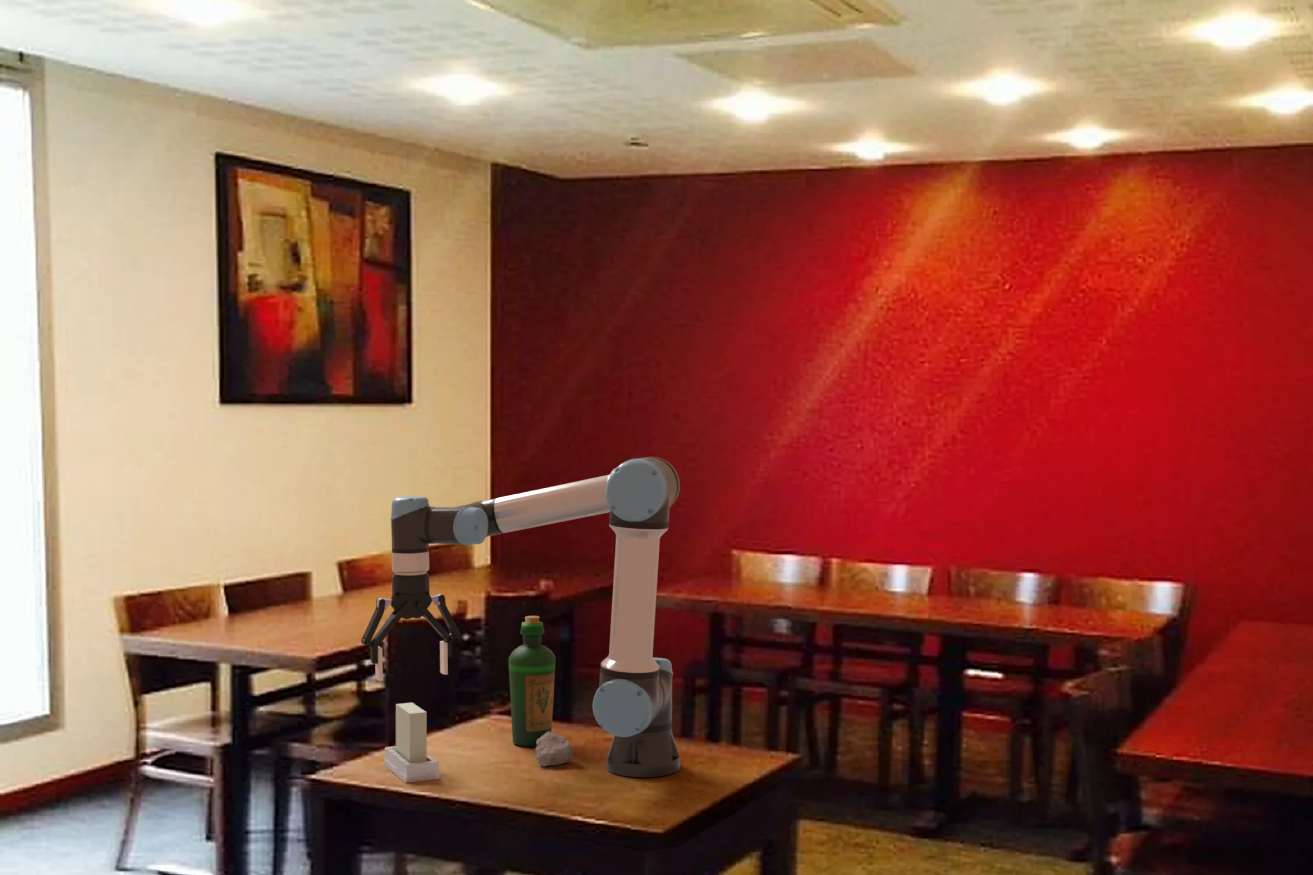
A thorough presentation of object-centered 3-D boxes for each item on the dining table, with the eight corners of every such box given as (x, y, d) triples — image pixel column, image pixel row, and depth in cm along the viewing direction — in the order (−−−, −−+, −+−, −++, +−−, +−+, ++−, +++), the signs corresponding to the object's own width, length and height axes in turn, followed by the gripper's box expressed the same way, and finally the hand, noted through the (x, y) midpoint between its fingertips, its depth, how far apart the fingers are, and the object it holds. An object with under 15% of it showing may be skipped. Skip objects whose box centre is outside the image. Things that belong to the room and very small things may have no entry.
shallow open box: (439, 778, 297) (439, 761, 297) (405, 782, 294) (405, 765, 294) (416, 760, 312) (416, 744, 312) (383, 764, 309) (383, 747, 309)
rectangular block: (426, 771, 299) (426, 712, 299) (409, 773, 298) (409, 713, 297) (412, 760, 308) (412, 702, 308) (395, 761, 307) (395, 704, 306)
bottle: (548, 750, 321) (549, 621, 320) (501, 747, 323) (501, 619, 322) (561, 738, 332) (562, 614, 331) (515, 736, 334) (515, 612, 333)
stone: (525, 758, 315) (525, 731, 315) (561, 755, 318) (561, 728, 318) (539, 769, 306) (539, 741, 305) (576, 766, 309) (576, 738, 308)
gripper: (463, 567, 311) (464, 668, 311) (345, 574, 300) (346, 678, 300) (475, 571, 304) (476, 674, 304) (354, 578, 293) (356, 685, 294)
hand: (411, 676), depth 302 cm, fingers open, 13 cm apart
